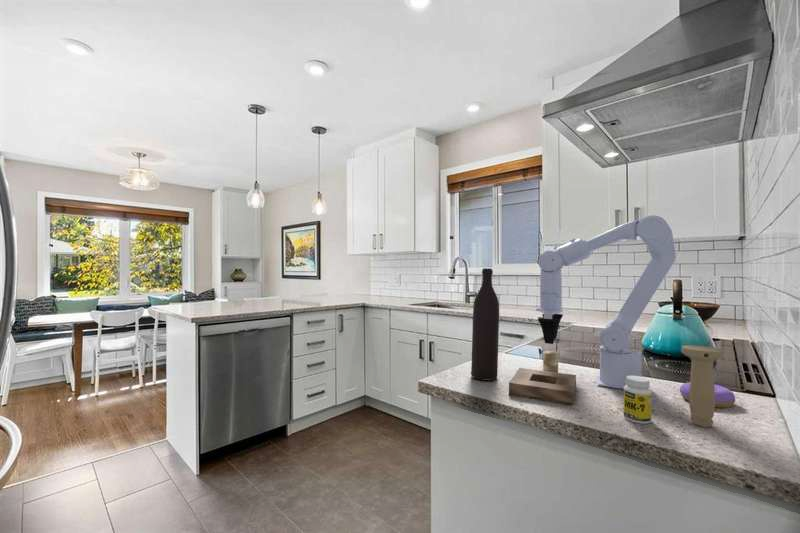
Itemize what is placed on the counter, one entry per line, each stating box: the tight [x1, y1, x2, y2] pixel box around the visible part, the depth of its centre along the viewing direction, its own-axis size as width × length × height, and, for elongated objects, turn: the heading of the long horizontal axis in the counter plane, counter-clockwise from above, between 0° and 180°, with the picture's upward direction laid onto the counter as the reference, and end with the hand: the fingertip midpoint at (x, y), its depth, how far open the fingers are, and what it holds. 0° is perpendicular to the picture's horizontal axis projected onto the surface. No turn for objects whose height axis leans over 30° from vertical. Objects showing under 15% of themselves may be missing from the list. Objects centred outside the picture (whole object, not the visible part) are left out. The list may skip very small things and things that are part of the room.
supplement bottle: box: [622, 376, 653, 425], centre depth 76 cm, size 5×5×8 cm
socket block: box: [508, 367, 577, 406], centre depth 93 cm, size 14×14×3 cm
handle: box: [681, 345, 725, 428], centre depth 74 cm, size 5×6×15 cm
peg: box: [542, 350, 559, 373], centre depth 107 cm, size 4×4×6 cm
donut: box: [679, 381, 736, 408], centre depth 86 cm, size 10×9×5 cm
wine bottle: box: [470, 267, 500, 381], centre depth 104 cm, size 7×7×30 cm
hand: (550, 340), depth 107 cm, fingers open, 7 cm apart
